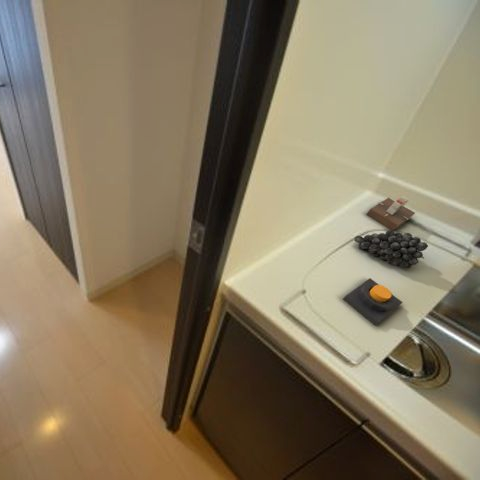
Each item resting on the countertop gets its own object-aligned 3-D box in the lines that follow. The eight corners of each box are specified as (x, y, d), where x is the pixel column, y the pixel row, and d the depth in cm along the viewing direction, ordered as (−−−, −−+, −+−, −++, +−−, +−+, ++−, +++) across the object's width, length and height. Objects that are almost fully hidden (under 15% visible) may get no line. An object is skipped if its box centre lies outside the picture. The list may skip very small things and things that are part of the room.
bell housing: (364, 283, 81) (374, 273, 78) (396, 307, 77) (408, 298, 74) (340, 300, 78) (350, 291, 75) (372, 327, 73) (384, 318, 70)
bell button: (374, 286, 76) (379, 282, 75) (389, 298, 74) (395, 293, 73) (366, 293, 75) (370, 289, 74) (381, 305, 73) (386, 300, 71)
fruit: (367, 225, 82) (438, 248, 77) (363, 215, 88) (429, 235, 83) (349, 254, 86) (415, 277, 81) (347, 242, 93) (408, 262, 88)
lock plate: (381, 204, 102) (387, 196, 99) (409, 220, 97) (417, 213, 95) (363, 215, 98) (369, 207, 96) (392, 233, 93) (399, 225, 91)
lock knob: (393, 206, 97) (403, 195, 93) (400, 209, 96) (410, 198, 92) (385, 211, 95) (395, 200, 92) (392, 215, 94) (401, 204, 91)
